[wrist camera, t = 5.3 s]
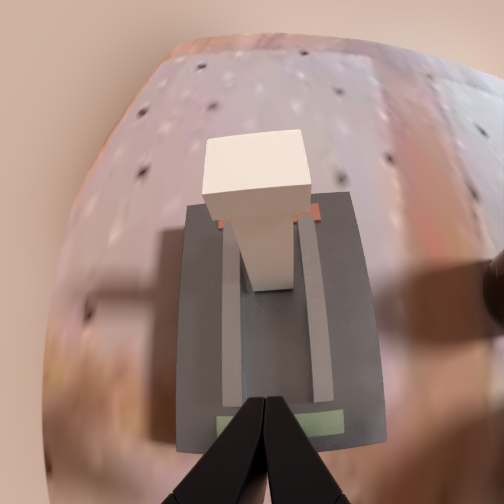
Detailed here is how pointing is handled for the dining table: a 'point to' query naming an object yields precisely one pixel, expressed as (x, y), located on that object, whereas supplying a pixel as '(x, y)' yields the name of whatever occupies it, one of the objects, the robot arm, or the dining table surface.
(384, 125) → the dining table surface
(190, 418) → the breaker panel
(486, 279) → the supplement bottle
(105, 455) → the dining table surface
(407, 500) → the dining table surface
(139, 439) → the dining table surface
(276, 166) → the handle
